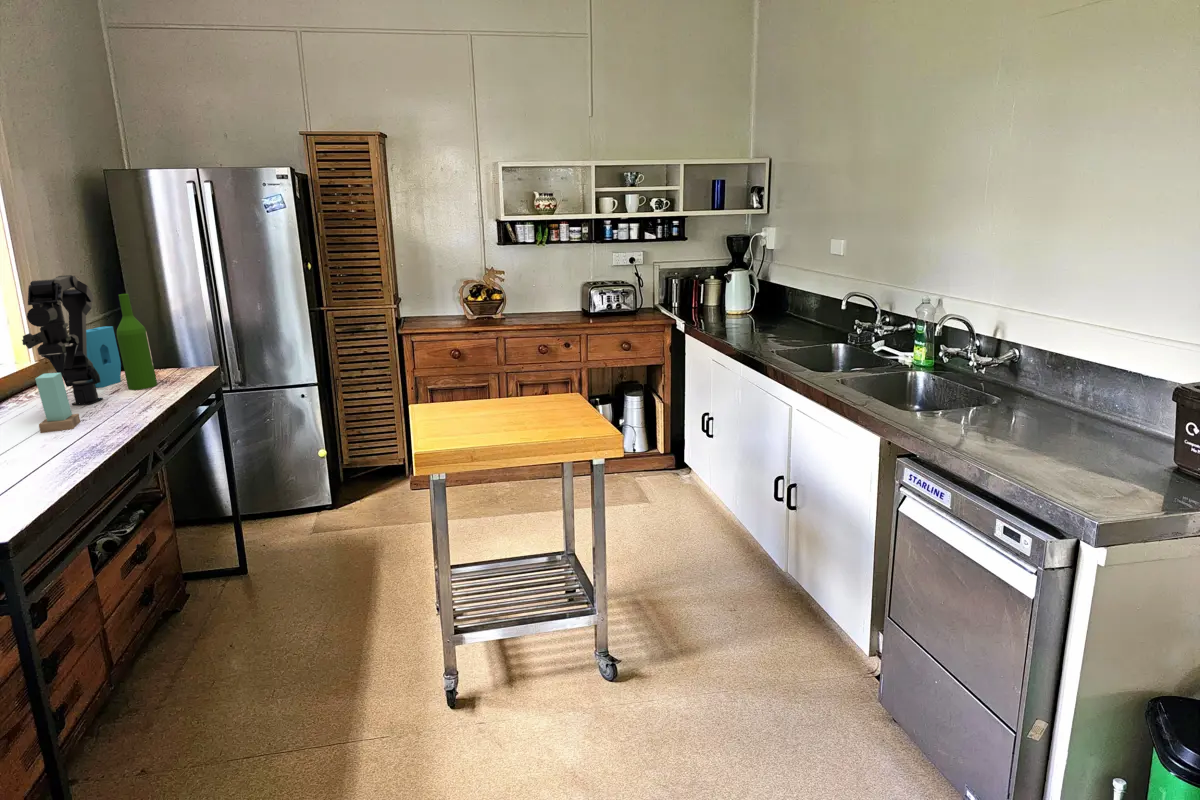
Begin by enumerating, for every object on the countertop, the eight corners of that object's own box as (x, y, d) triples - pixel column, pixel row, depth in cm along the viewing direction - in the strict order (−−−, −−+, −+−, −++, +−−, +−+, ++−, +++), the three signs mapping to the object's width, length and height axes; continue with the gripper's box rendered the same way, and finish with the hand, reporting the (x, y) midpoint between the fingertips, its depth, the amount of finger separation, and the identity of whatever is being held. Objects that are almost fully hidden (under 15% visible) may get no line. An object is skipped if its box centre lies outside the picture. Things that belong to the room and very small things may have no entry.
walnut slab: (49, 427, 227) (47, 417, 226) (80, 423, 229) (78, 413, 229) (41, 434, 220) (38, 424, 219) (73, 430, 222) (71, 420, 221)
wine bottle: (162, 385, 271) (143, 292, 262) (136, 391, 264) (116, 296, 255) (149, 382, 276) (130, 292, 267) (123, 388, 269) (102, 295, 260)
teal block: (55, 415, 226) (43, 373, 221) (72, 414, 226) (60, 372, 222) (47, 421, 222) (35, 378, 217) (64, 420, 222) (52, 377, 218)
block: (97, 389, 270) (84, 332, 265) (86, 388, 271) (73, 332, 266) (125, 380, 281) (114, 326, 276) (115, 380, 282) (103, 326, 277)
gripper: (32, 319, 238) (44, 369, 243) (10, 329, 221) (24, 381, 226) (73, 316, 242) (84, 364, 246) (55, 325, 225) (68, 377, 229)
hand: (65, 371), depth 237 cm, fingers open, 9 cm apart
